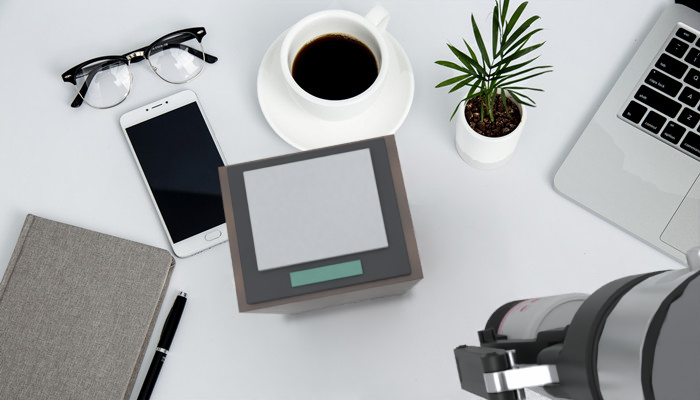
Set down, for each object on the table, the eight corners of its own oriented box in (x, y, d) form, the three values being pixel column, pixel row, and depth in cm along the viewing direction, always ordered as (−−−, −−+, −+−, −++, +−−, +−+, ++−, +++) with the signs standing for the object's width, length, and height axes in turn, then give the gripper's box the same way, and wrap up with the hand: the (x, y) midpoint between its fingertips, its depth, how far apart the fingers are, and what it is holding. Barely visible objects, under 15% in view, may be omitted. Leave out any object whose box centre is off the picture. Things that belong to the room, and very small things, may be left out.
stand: (405, 292, 83) (423, 278, 52) (290, 314, 84) (239, 312, 52) (387, 200, 86) (394, 133, 55) (275, 221, 86) (217, 167, 55)
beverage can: (567, 383, 49) (649, 410, 34) (483, 383, 49) (530, 411, 34) (560, 299, 50) (638, 291, 35) (479, 300, 50) (523, 292, 35)
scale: (411, 274, 52) (412, 272, 50) (249, 304, 52) (244, 304, 50) (384, 141, 55) (384, 134, 53) (229, 170, 55) (224, 164, 53)
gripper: (914, 224, 24) (651, 270, 46) (416, 314, 24) (396, 316, 46) (987, 426, 22) (678, 371, 45) (457, 521, 22) (416, 418, 45)
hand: (535, 343), depth 46 cm, fingers closed on beverage can, 6 cm apart
